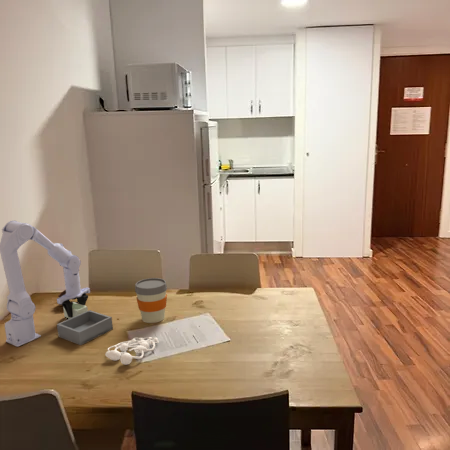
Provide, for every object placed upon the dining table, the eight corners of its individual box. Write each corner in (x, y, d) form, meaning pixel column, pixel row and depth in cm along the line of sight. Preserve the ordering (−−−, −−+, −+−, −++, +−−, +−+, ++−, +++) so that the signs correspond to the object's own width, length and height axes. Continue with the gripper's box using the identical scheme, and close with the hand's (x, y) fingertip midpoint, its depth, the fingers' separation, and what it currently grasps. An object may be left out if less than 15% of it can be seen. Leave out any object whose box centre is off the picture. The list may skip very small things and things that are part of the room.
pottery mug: (82, 308, 193) (70, 295, 190) (64, 318, 194) (52, 305, 191) (86, 292, 204) (75, 279, 200) (69, 301, 205) (58, 288, 201)
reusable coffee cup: (152, 327, 171) (150, 291, 168) (131, 320, 179) (127, 284, 176) (175, 316, 181) (173, 281, 178) (153, 309, 188) (151, 275, 185)
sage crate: (78, 322, 178) (77, 310, 177) (64, 317, 183) (63, 306, 182) (88, 317, 182) (87, 306, 181) (74, 313, 187) (73, 302, 186)
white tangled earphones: (140, 338, 166) (138, 328, 165) (169, 345, 158) (167, 334, 157) (98, 360, 150) (97, 349, 150) (128, 368, 142) (127, 356, 141)
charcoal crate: (80, 345, 159) (79, 332, 158) (58, 336, 167) (56, 324, 166) (112, 329, 171) (111, 317, 170) (90, 321, 179) (89, 310, 177)
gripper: (63, 290, 172) (67, 323, 175) (93, 279, 183) (96, 310, 186) (52, 287, 176) (56, 319, 179) (82, 276, 187) (85, 306, 190)
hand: (76, 314), depth 183 cm, fingers closed on sage crate, 5 cm apart
